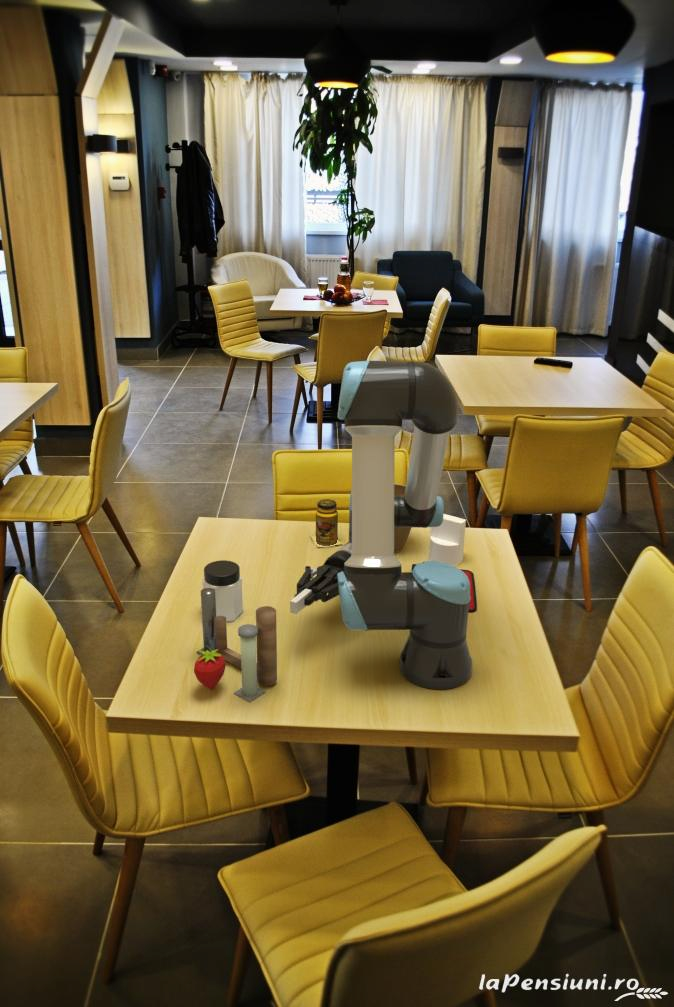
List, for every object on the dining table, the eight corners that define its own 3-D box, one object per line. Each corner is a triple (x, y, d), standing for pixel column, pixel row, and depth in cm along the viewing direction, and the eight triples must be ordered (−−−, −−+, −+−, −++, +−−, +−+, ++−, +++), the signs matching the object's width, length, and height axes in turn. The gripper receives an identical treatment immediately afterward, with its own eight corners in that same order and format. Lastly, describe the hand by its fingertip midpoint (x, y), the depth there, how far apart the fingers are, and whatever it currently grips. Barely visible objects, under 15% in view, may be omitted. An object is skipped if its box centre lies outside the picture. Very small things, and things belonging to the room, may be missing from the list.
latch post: (265, 692, 170) (264, 628, 164) (249, 702, 167) (247, 638, 161) (249, 683, 173) (248, 621, 167) (234, 693, 169) (231, 629, 164)
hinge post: (225, 651, 183) (222, 590, 177) (210, 660, 180) (207, 598, 174) (211, 644, 186) (208, 584, 180) (196, 652, 183) (192, 591, 177)
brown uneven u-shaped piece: (211, 657, 180) (207, 590, 174) (225, 649, 183) (222, 583, 176) (267, 687, 170) (266, 618, 164) (281, 679, 173) (280, 610, 167)
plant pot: (352, 541, 235) (354, 488, 229) (399, 533, 241) (402, 480, 235) (378, 563, 222) (380, 507, 216) (426, 553, 228) (430, 499, 222)
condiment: (317, 548, 231) (318, 508, 226) (309, 535, 238) (309, 496, 233) (343, 545, 233) (344, 505, 228) (334, 533, 240) (334, 493, 235)
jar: (241, 603, 203) (240, 558, 198) (244, 621, 195) (242, 574, 190) (203, 606, 201) (201, 561, 196) (204, 624, 194) (202, 577, 189)
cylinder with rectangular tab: (422, 560, 225) (425, 519, 221) (438, 548, 232) (441, 508, 227) (453, 569, 221) (456, 527, 216) (468, 557, 227) (472, 516, 223)
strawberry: (188, 696, 168) (186, 653, 164) (206, 675, 175) (204, 634, 171) (215, 702, 167) (213, 659, 163) (232, 682, 173) (231, 640, 169)
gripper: (370, 585, 195) (320, 631, 176) (320, 573, 201) (267, 615, 181) (371, 556, 192) (320, 599, 173) (320, 544, 198) (266, 584, 179)
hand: (293, 607), depth 177 cm, fingers closed
